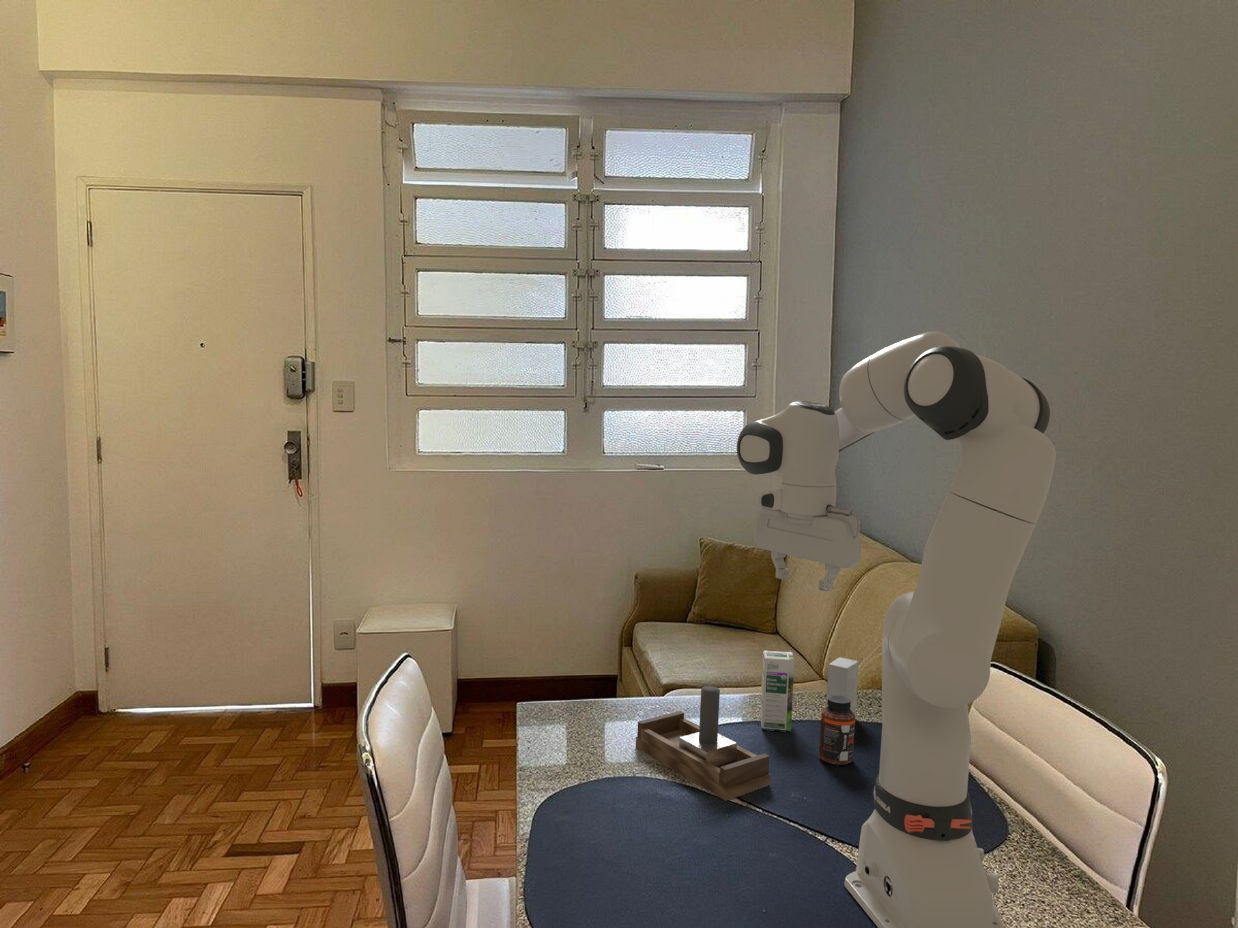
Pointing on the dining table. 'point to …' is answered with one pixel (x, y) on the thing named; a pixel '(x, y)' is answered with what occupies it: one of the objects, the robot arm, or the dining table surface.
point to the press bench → (720, 780)
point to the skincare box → (843, 680)
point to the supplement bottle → (837, 731)
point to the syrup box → (777, 690)
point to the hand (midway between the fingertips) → (803, 584)
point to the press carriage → (710, 732)
